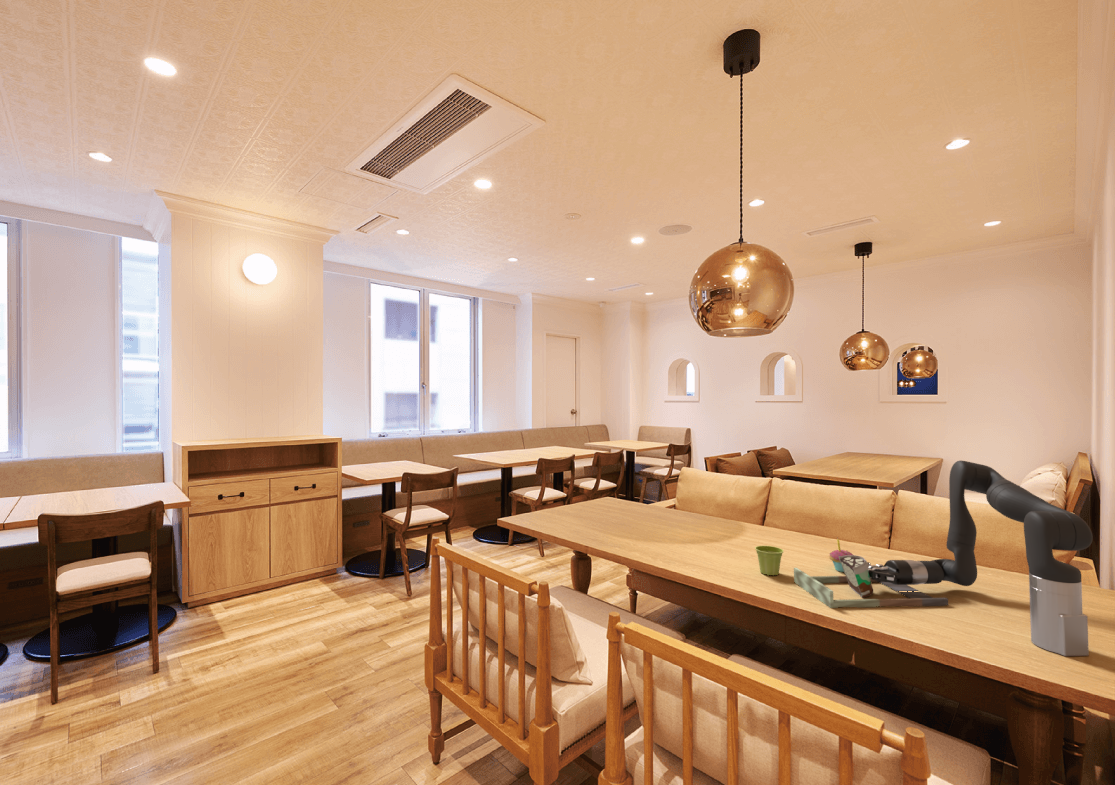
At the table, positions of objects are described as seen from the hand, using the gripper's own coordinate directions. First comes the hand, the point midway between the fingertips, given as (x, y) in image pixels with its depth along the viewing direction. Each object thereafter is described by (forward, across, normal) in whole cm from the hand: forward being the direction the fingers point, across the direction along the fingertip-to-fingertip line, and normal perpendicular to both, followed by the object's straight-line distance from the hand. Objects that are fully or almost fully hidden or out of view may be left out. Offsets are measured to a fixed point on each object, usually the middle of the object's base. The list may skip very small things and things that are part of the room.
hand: (852, 572), depth 158 cm
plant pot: (+18, -19, +7) cm, 27 cm away
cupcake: (-10, -22, +7) cm, 25 cm away
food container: (-4, 0, +6) cm, 7 cm away
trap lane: (-4, 0, +7) cm, 8 cm away
